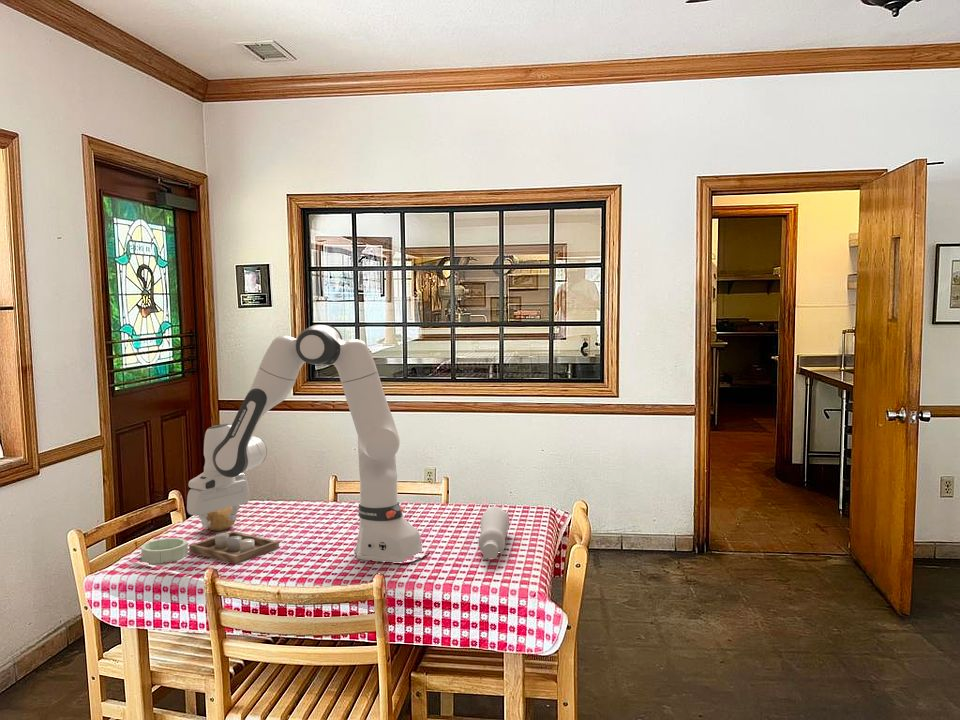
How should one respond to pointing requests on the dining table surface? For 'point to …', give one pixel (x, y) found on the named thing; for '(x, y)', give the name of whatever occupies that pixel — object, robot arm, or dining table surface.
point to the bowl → (164, 550)
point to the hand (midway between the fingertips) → (219, 523)
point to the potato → (220, 519)
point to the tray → (209, 550)
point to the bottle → (493, 531)
